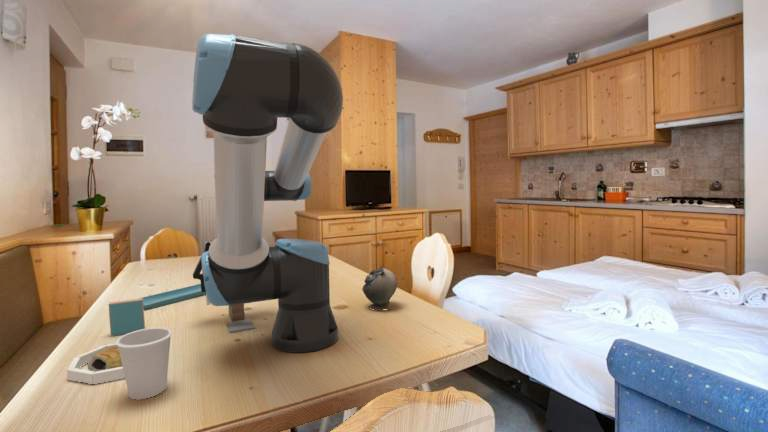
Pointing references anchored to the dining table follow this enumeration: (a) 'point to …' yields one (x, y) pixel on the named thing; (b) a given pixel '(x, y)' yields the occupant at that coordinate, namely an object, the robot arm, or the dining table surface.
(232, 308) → the tall brown block
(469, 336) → the dining table surface
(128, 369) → the dixie cup
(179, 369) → the dining table surface
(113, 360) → the pastry
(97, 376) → the dish rim
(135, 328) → the tile
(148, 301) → the teal serving tray
